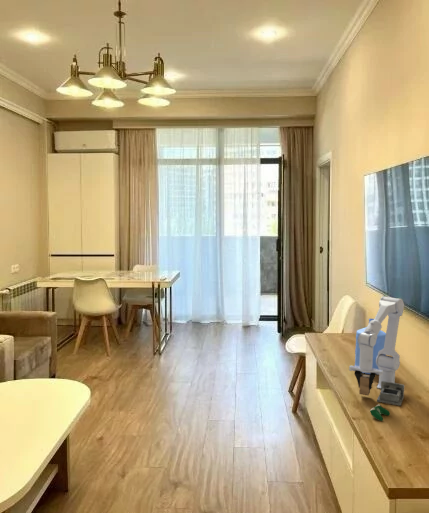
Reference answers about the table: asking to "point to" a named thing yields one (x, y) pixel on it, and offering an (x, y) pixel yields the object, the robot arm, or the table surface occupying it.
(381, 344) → the water jug
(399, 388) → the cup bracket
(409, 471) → the table surface
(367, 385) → the brown rectangular block
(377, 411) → the gaming controller
